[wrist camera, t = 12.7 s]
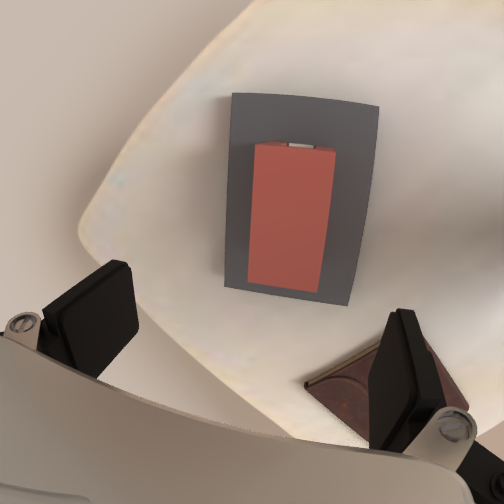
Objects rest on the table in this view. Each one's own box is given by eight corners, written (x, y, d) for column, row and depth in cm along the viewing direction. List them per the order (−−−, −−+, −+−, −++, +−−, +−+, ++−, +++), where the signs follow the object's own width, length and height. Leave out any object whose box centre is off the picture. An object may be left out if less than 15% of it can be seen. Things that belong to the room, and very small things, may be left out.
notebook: (410, 316, 30) (414, 327, 28) (467, 401, 33) (470, 411, 31) (304, 379, 36) (303, 391, 35) (381, 445, 39) (381, 455, 37)
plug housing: (334, 148, 24) (336, 152, 19) (319, 262, 28) (317, 292, 23) (270, 141, 25) (255, 144, 20) (262, 254, 29) (247, 281, 24)
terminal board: (375, 108, 23) (388, 102, 18) (347, 295, 30) (348, 331, 25) (238, 95, 26) (216, 87, 20) (230, 277, 33) (210, 307, 27)
